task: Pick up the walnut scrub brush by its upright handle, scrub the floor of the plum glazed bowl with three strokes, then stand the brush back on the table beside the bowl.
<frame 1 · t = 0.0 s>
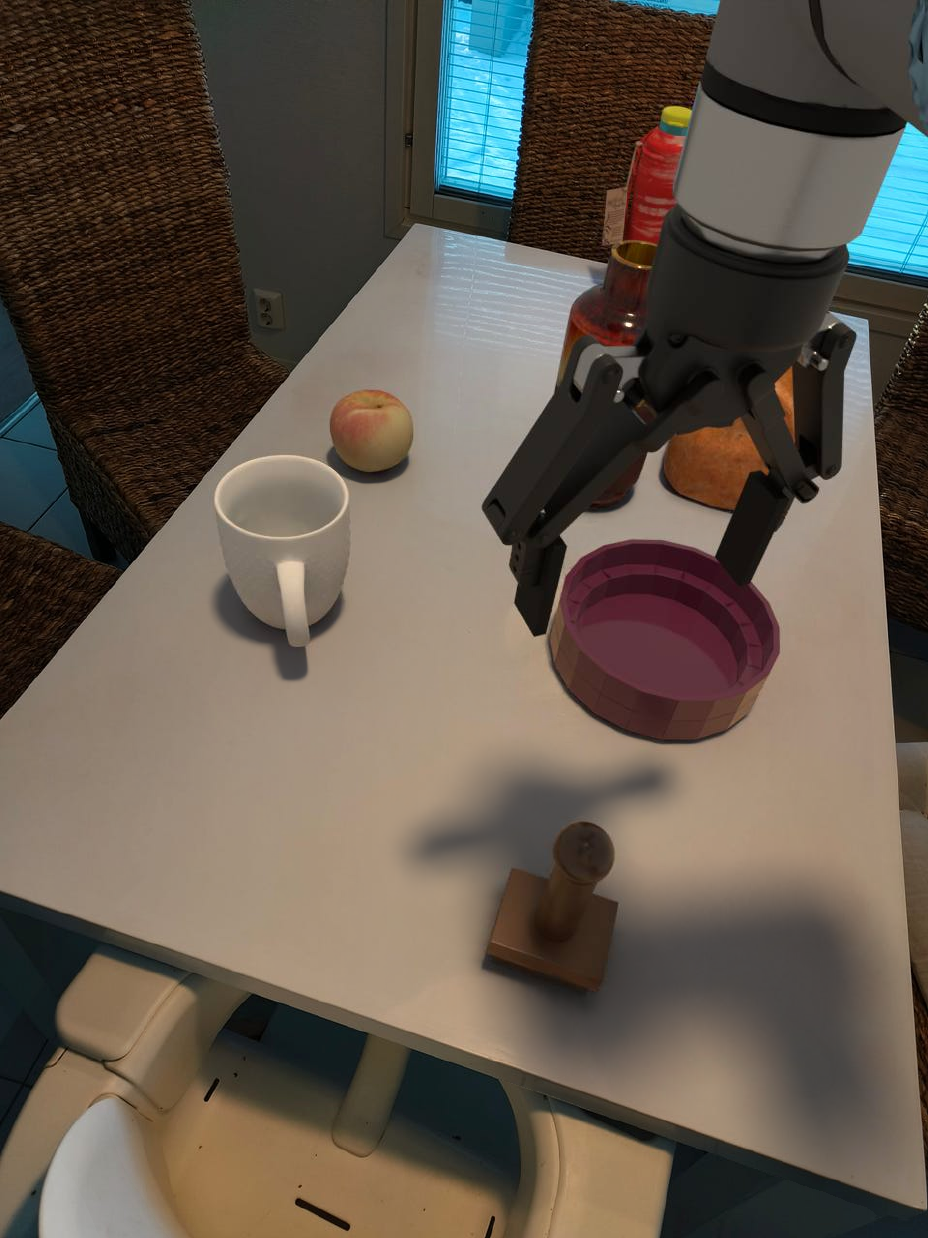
hand: (634, 593, 49), 24 cm above the table, tool pointing down, fingers open, 13 cm apart
mug: (292, 614, 79), on the table
yellow-red round fruit: (372, 462, 95), on the table
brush: (546, 945, 59), on the table
water bottle: (625, 291, 130), on the table
vase: (586, 484, 96), on the table
bowl: (652, 657, 79), on the table
bread: (728, 447, 103), on the table
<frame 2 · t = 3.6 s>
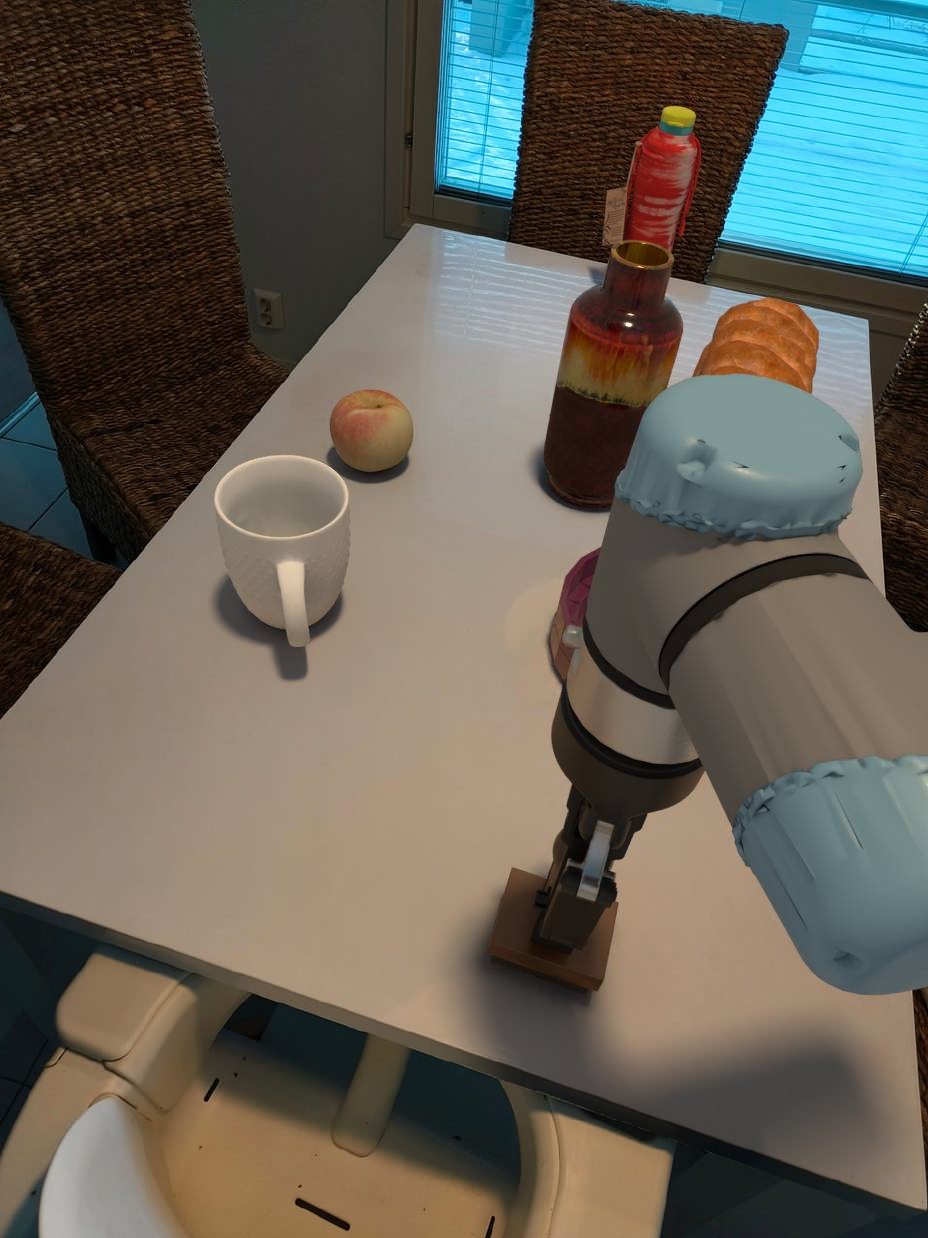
hand: (557, 918, 56), 5 cm above the table, tool pointing down, fingers closed on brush, 3 cm apart
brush: (546, 945, 59), on the table, touching gripper
everything else where it was.
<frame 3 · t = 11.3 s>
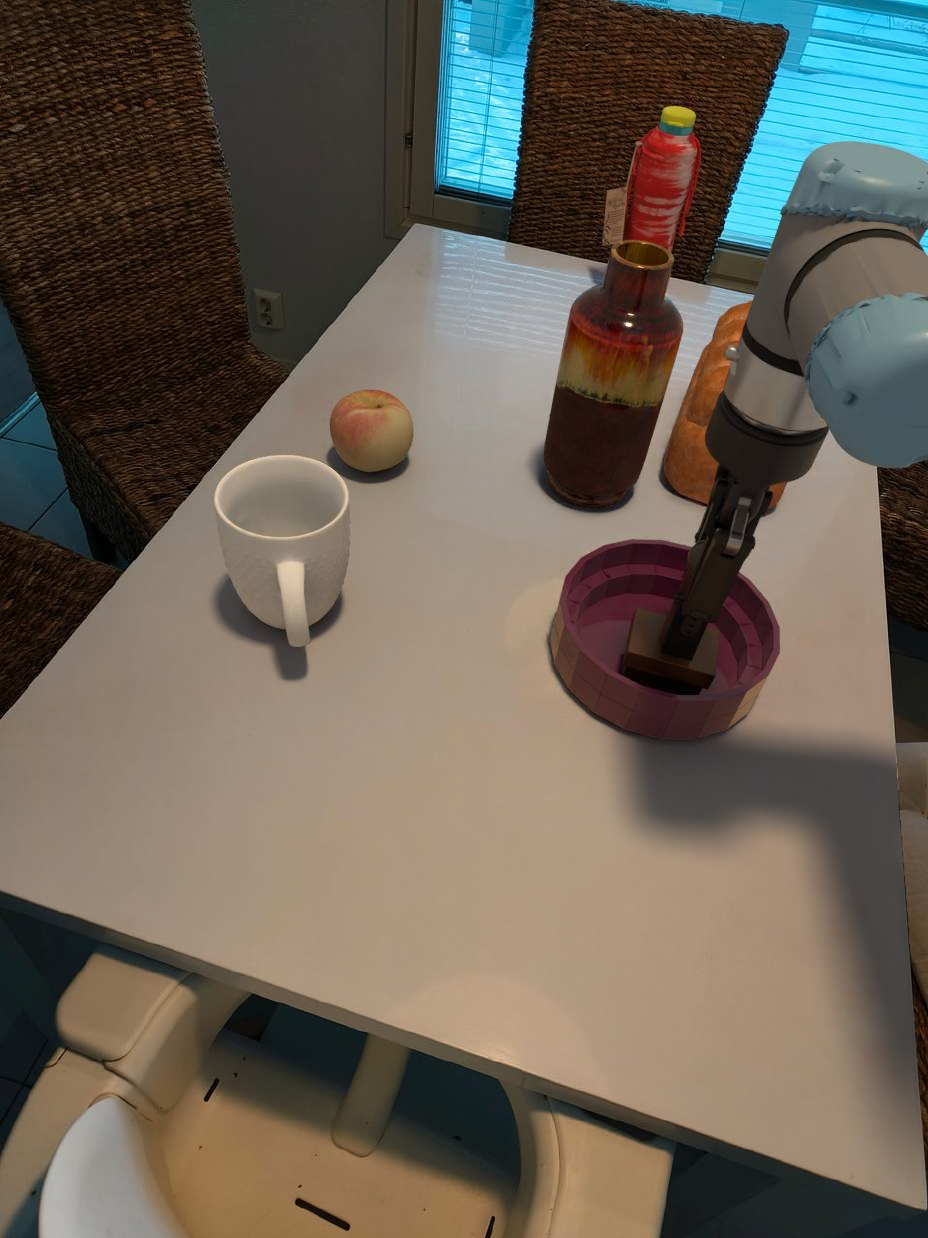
hand: (679, 638, 74), 5 cm above the table, tool pointing down, fingers closed on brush, 3 cm apart
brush: (662, 669, 77), point 1 cm above the table, touching gripper
everything else where it was.
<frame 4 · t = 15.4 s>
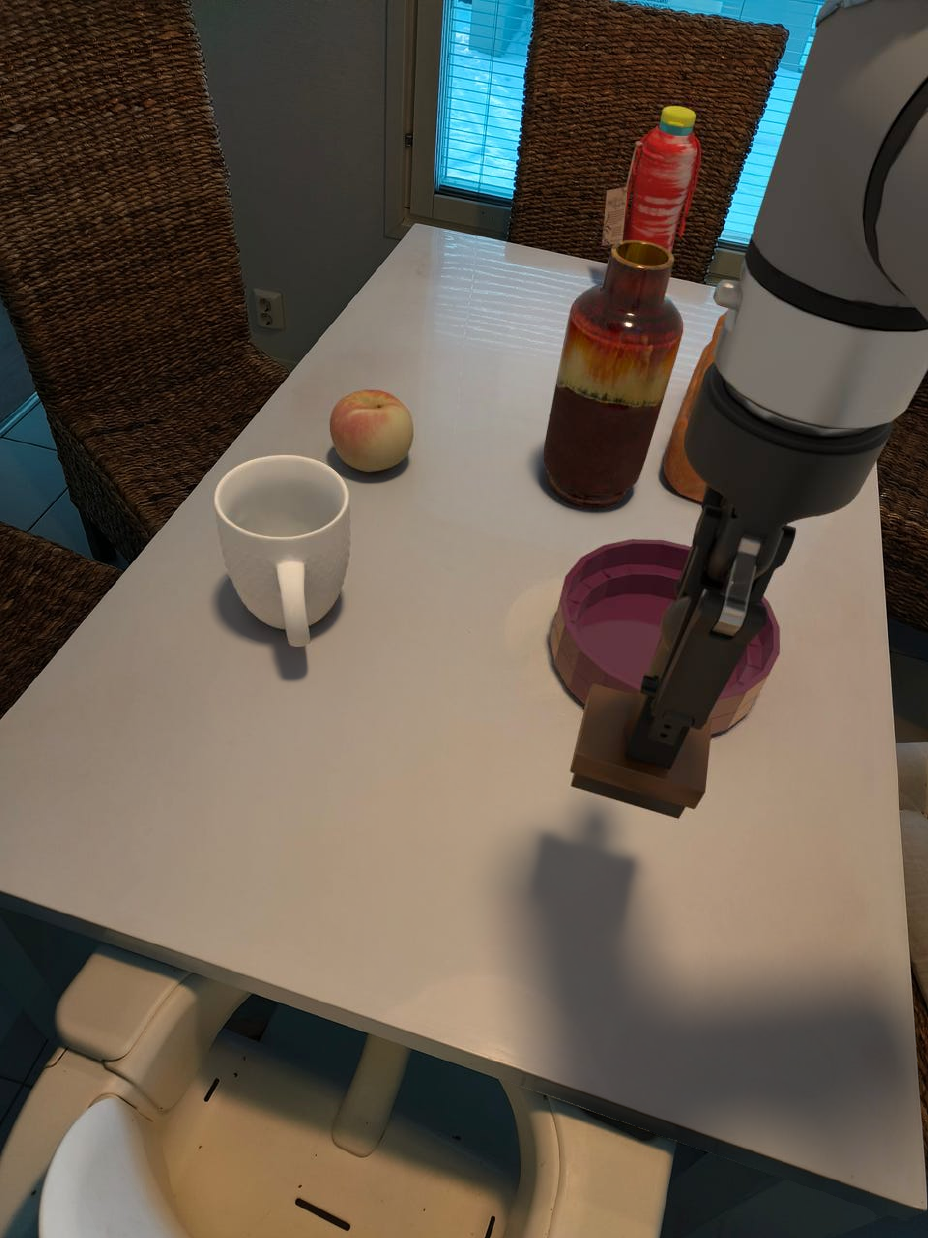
hand: (652, 733, 50), 18 cm above the table, tool pointing down, fingers closed on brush, 3 cm apart
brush: (629, 771, 54), point 14 cm above the table, touching gripper
everything else where it was.
when the fingers open (4 cm above the table, at t = 18.8 s): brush stays where it is, on the table.
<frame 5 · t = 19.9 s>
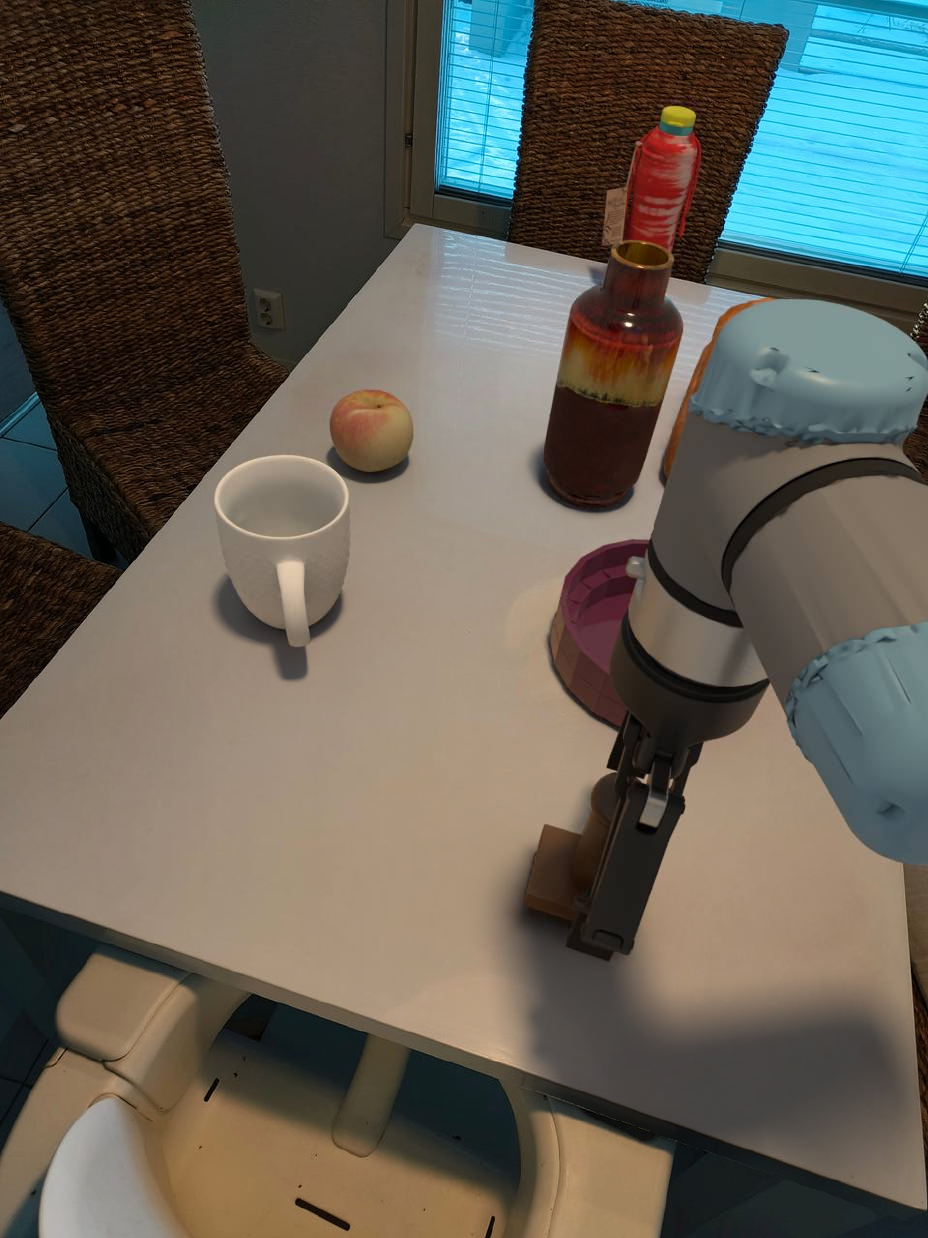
hand: (608, 852, 56), 8 cm above the table, tool pointing down, fingers open, 13 cm apart
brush: (578, 898, 62), on the table
everything else where it was.
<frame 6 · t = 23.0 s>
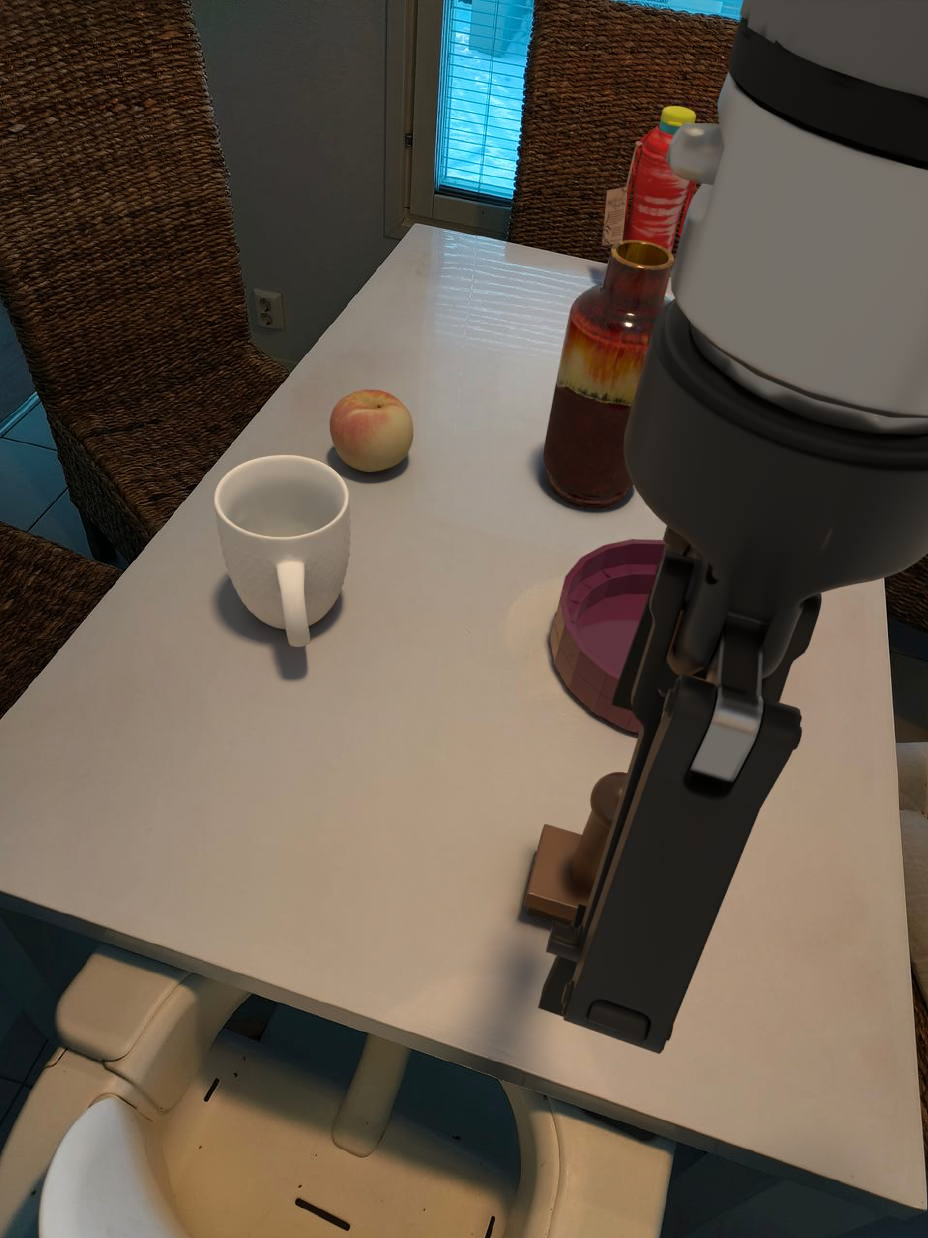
hand: (614, 838, 33), 29 cm above the table, tool pointing down, fingers open, 13 cm apart
nothing on the table moved.
at the end: the gripper is holding nothing; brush tilted 0°; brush inside the target area on the table beside the bowl (0.4 cm from its centre), on the table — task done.
